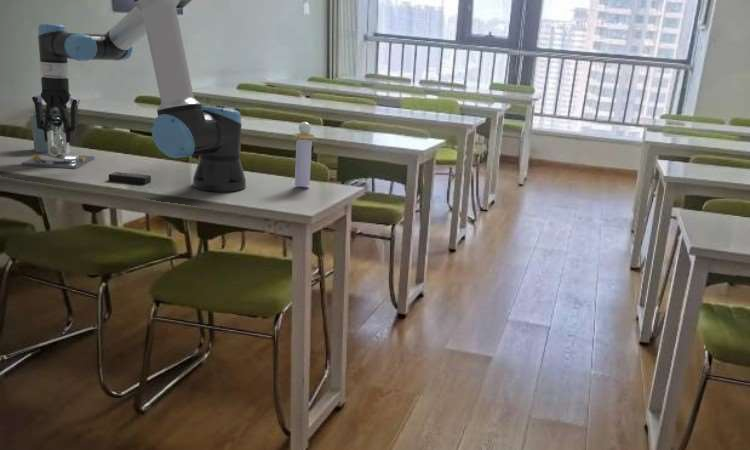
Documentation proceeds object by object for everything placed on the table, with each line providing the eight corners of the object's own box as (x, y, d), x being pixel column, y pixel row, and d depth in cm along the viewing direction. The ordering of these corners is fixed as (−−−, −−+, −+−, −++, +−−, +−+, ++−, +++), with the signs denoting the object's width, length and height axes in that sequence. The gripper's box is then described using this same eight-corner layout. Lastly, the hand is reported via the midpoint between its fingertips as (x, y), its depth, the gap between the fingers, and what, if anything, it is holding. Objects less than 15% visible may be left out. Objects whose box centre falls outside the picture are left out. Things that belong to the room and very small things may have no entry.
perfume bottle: (303, 190, 195) (306, 123, 190) (288, 187, 198) (291, 121, 193) (315, 187, 200) (318, 122, 194) (300, 184, 203) (303, 120, 197)
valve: (74, 155, 209) (72, 117, 205) (64, 158, 202) (62, 119, 199) (54, 153, 209) (52, 115, 205) (43, 156, 202) (40, 118, 199)
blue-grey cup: (25, 150, 218) (22, 114, 215) (48, 146, 228) (46, 112, 224) (50, 154, 216) (48, 118, 212) (72, 150, 225) (70, 115, 222)
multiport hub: (144, 186, 187) (144, 178, 186) (108, 182, 188) (107, 174, 187) (151, 183, 191) (151, 175, 190) (115, 179, 192) (115, 171, 191)
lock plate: (76, 168, 199) (75, 162, 199) (21, 165, 198) (21, 158, 197) (94, 158, 214) (94, 152, 214) (44, 155, 213) (43, 149, 213)
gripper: (20, 75, 194) (25, 152, 201) (78, 79, 196) (82, 156, 202) (31, 73, 202) (36, 148, 208) (87, 77, 203) (91, 152, 210)
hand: (59, 152), depth 205 cm, fingers closed on valve, 4 cm apart
